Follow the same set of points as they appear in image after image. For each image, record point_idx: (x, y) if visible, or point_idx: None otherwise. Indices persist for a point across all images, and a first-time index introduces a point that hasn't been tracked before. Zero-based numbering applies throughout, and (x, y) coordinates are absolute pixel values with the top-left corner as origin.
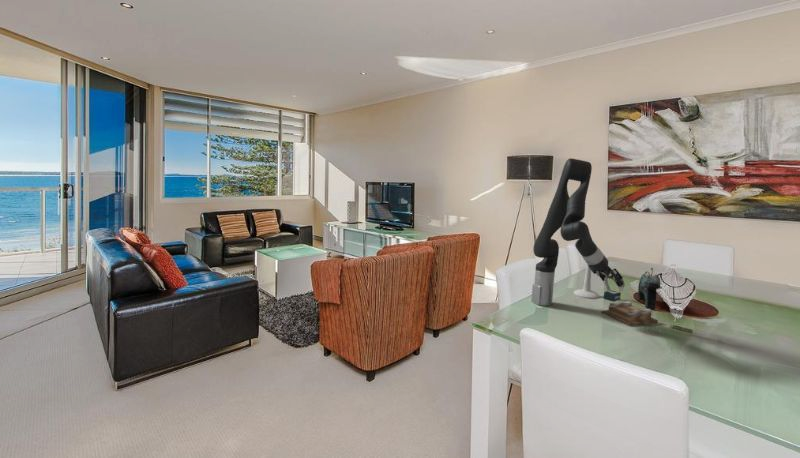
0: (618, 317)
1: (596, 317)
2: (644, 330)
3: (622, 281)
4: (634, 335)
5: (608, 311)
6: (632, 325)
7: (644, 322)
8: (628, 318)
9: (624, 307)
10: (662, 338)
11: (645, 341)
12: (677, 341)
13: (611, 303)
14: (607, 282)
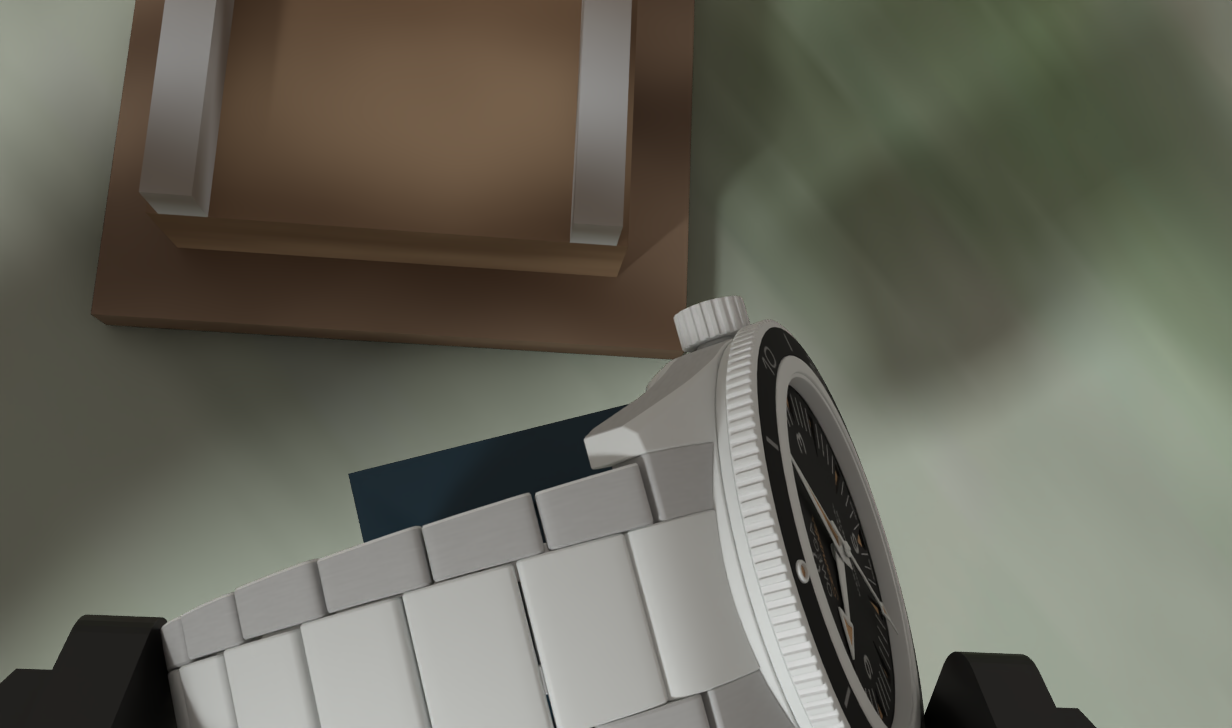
0: (435, 309)
1: (229, 580)
2: (855, 302)
3: (787, 406)
4: (961, 610)
5: (178, 246)
6: None
7: (691, 88)
8: (586, 264)
9: (300, 4)
10: (1115, 318)
11: (1151, 642)
12: (1221, 222)
13: (156, 165)
14: (268, 634)
